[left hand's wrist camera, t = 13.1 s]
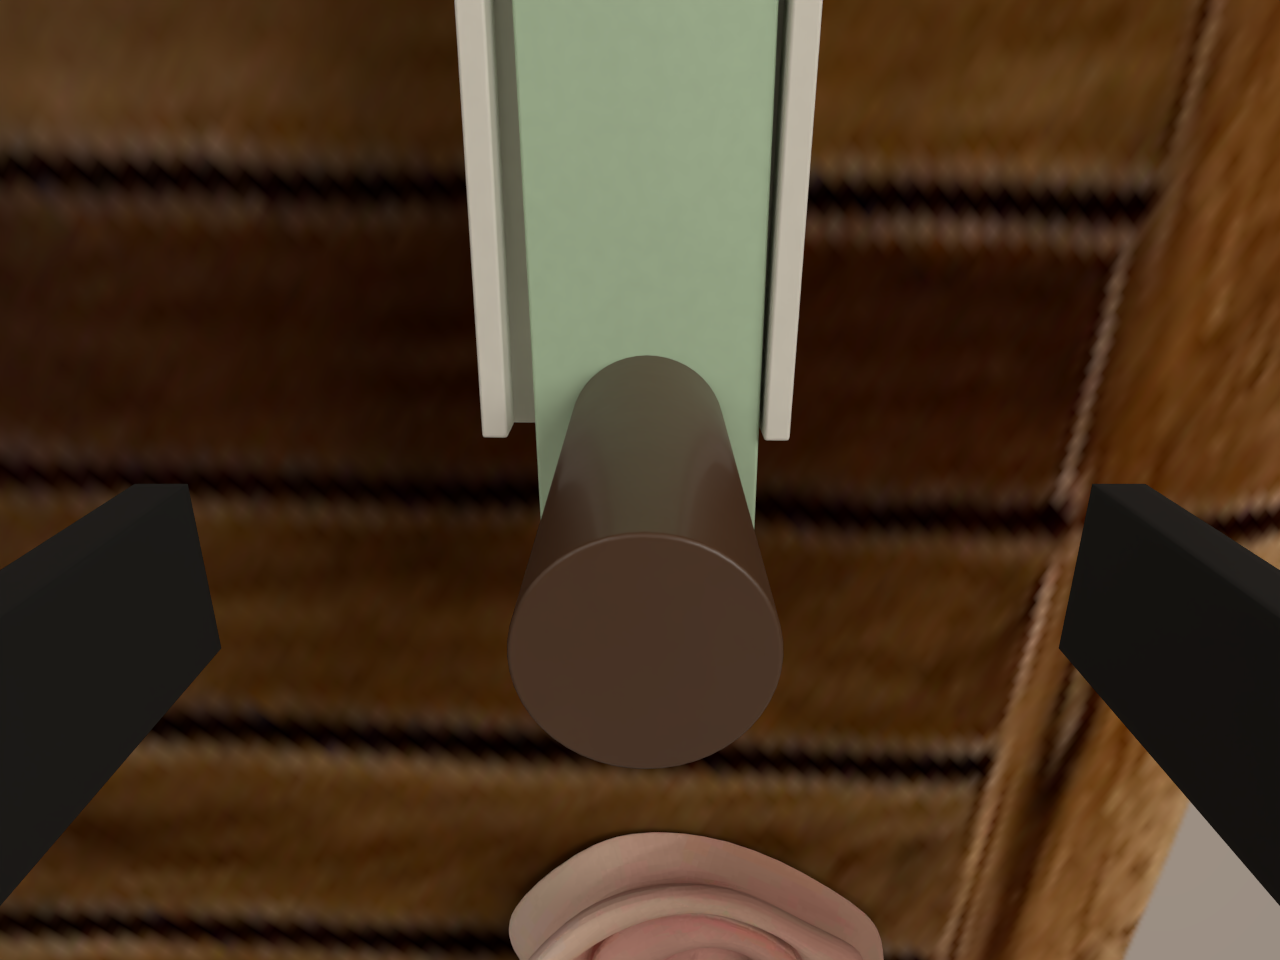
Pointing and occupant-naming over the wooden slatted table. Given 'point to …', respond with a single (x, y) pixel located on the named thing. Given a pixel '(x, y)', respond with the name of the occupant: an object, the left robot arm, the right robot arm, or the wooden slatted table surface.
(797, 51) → the pencil box
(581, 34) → the sliding lid
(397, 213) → the wooden slatted table surface
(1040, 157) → the wooden slatted table surface
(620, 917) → the anatomical model
